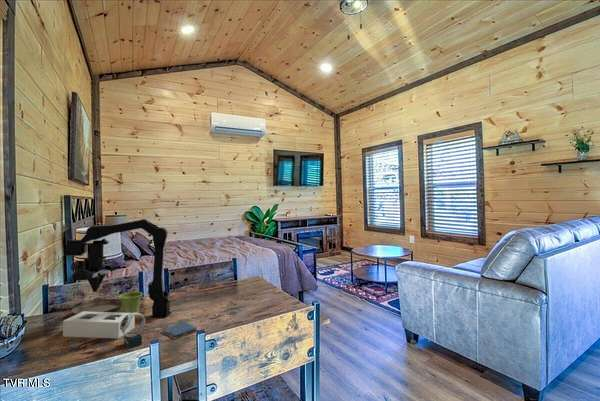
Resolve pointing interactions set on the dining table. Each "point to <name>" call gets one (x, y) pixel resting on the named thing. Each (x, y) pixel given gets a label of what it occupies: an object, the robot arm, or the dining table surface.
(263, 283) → the dining table surface
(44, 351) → the dining table surface
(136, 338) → the watch
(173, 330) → the woven mat
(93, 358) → the dining table surface
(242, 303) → the dining table surface
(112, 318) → the peg
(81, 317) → the peg
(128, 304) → the plant pot
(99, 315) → the sleeve block
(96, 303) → the plant saucer
